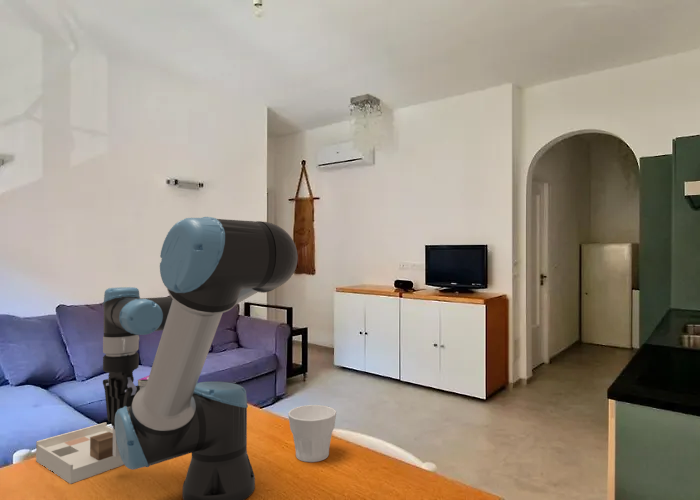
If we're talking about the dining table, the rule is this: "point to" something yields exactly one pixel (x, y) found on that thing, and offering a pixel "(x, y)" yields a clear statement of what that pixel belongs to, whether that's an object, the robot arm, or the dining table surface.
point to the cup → (312, 431)
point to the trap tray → (74, 454)
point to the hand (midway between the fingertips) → (119, 453)
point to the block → (101, 446)
